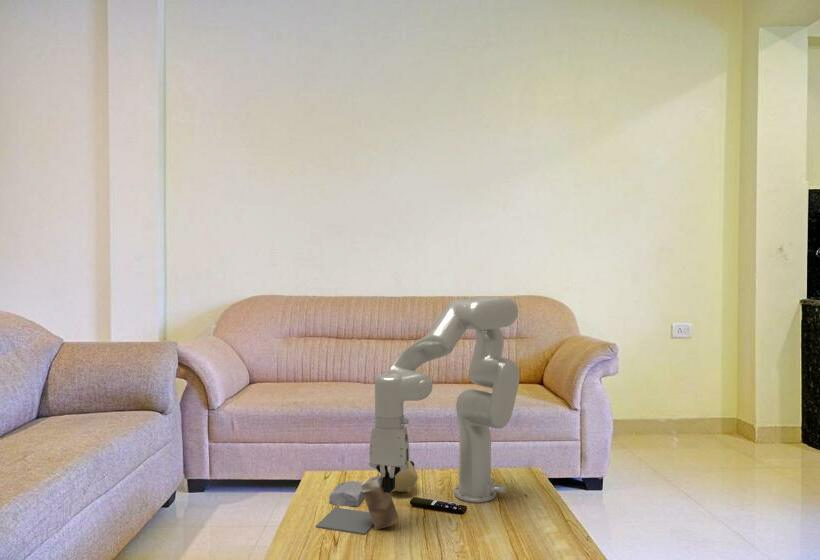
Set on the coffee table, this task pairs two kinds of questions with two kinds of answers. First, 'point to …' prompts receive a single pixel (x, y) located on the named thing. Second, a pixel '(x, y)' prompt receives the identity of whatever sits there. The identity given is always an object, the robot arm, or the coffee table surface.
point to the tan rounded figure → (405, 479)
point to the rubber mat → (347, 521)
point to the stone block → (347, 494)
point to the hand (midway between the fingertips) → (388, 490)
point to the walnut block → (379, 502)
